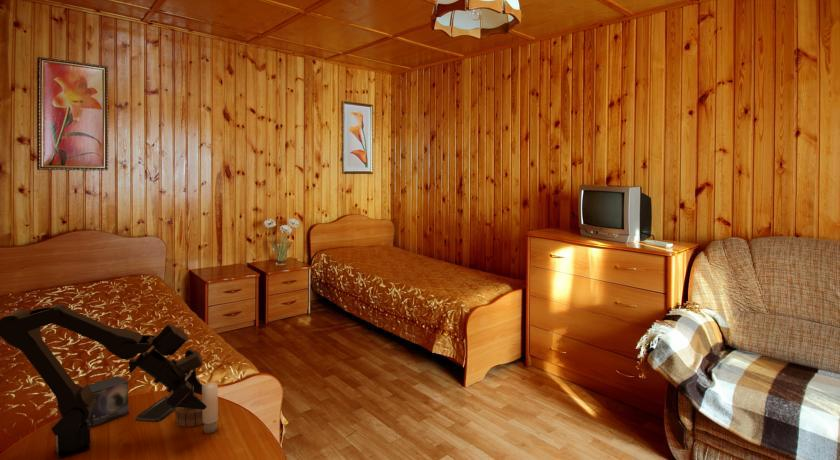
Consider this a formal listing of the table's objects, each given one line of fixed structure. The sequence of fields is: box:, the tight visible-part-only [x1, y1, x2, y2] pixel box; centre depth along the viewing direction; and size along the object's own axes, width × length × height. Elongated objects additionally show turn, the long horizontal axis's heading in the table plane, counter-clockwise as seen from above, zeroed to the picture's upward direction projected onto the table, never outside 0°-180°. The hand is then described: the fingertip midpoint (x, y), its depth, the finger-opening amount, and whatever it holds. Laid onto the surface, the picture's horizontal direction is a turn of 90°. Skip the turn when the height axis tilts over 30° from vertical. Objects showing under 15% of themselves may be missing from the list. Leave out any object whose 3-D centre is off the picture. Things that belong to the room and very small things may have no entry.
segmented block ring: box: [174, 397, 204, 428], centre depth 143 cm, size 10×10×4 cm
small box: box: [81, 375, 130, 428], centre depth 142 cm, size 11×6×10 cm, turn 148°
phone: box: [135, 395, 176, 423], centre depth 148 cm, size 8×1×15 cm
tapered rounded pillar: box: [201, 382, 219, 434], centre depth 136 cm, size 4×4×13 cm
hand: (206, 401), depth 136 cm, fingers open, 9 cm apart
